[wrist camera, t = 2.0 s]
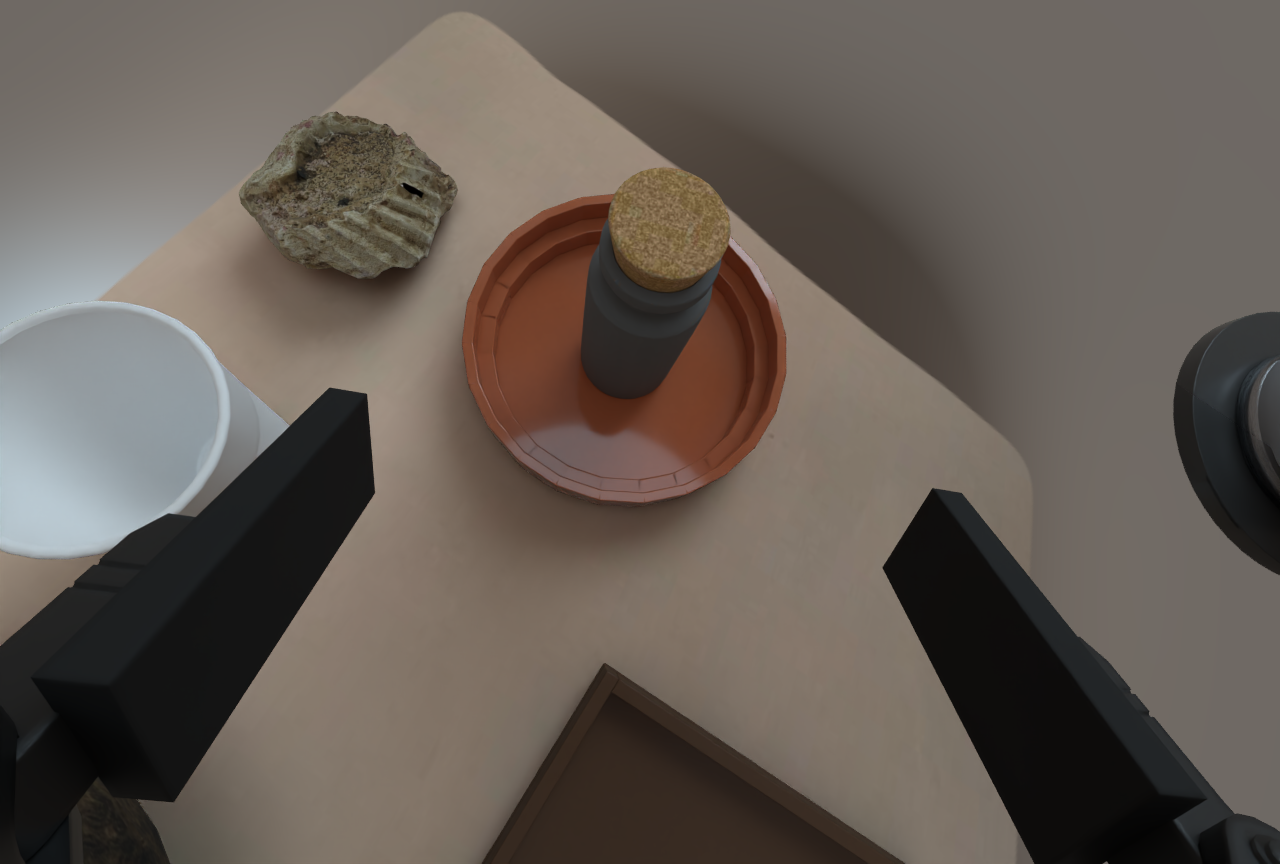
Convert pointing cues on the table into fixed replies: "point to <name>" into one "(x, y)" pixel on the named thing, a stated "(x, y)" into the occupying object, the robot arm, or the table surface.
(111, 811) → the bowl
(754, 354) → the terracotta bowl
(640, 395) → the bottle
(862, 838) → the tray
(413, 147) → the seashell
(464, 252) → the table surface
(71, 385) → the cup
